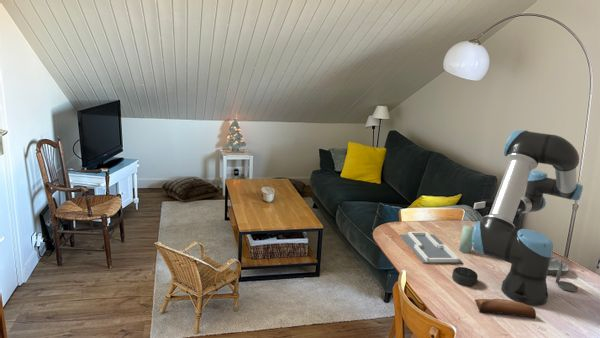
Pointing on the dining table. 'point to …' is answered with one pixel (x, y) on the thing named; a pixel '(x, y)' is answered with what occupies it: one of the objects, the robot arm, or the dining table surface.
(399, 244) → the dining table surface
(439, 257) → the keyhole track
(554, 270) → the brain slice
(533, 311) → the sunglasses case
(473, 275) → the smart speaker
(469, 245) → the sage post
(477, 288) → the dining table surface
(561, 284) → the grey disc stand
